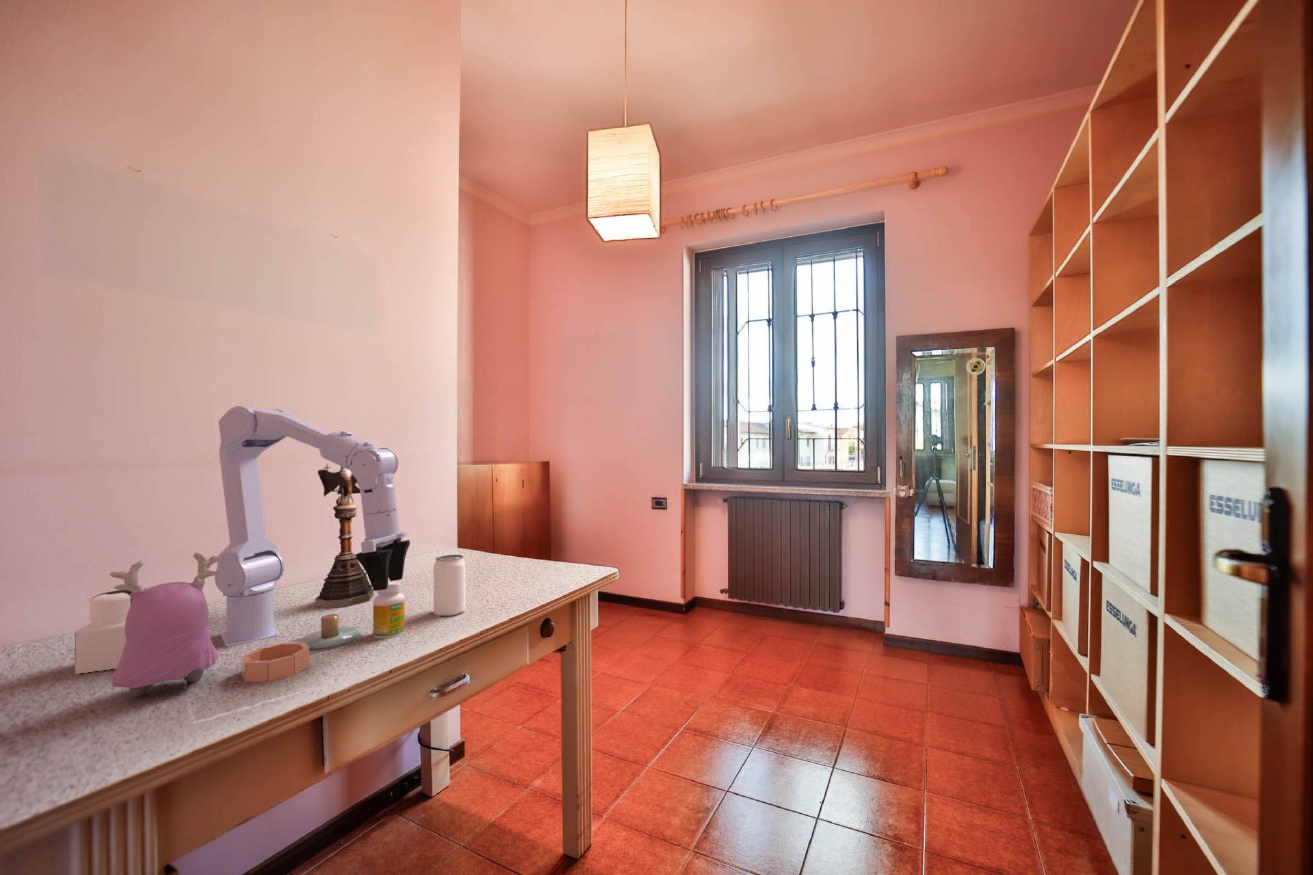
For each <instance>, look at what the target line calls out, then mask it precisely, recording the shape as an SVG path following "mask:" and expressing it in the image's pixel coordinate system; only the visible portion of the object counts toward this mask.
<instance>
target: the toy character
mask: <svg viewBox="0 0 1313 875" xmlns="http://www.w3.org/2000/svg"><path fill="white" fill-rule="evenodd" d="M192 557H193V558H194V559H195V560H196V562H197V575H195V577H194V579H193V581H192V582H191V583H190V582H186V581H172V582H163V583H160V584H157V585H153V586H150V587H148V588H146V587H145V588H144V587H142V585H141V584H140V583H139V578H138V574H139V571H140V569H141V568H142V567H143V565H144V561H143V560H141V559H140V560H138V561H137V562H135V563H133V564H132V565H131V566H130V569H129V570H128V571H127V572H126V571H124V570H123V571H121V570H120V571H112V572H110V573H109V576H110V577H111V578H115V579H121V580H123V581H124V584H117V585H114V586H113V588H114V589H115V590H117V591H118V590H129V591H131V592H132V593H131V594H130V595H131V599H132V603H131V606H130V608H129V611H128V613H127V617H126V622H125V637H126V642H125V645H124V648H123V652H122V656H121V660H120V662H119V664H118V666H117V669H115V672H114V674H113V676H112V680H111V683H112V685H111V687H114V688H129V691H130V693H131V694H132V696H134V697H138V698H139V697H141V696H142V695H144V694H145V693H146V692H147V691H148V690H149V689H150V688H152V686H154V684H158V683H163V682H168V681H176V680H181V679H183V680H185V681H187V682H188V683H196V682H197V683H198V682H199V681H201V680H202V677H203V674H204V672H205V670H207V669H210V668H211V667H212V666H214V665H215V664H216V661H217V659H219V657H220V654H219V652H218V650H217V649H216V648H215V646H214V644H213V642H212V638H211V635H210V632H209V631H210V630H209V628H208V622H209V608H208V606H209V605H208V603H207V600H206V597H205V593H204V591H203V589H204V586H205V583H206V581H205V579H207V578H209V577H213V576H214V577H215V575H217V574H219V573H220V571H216V570H210V567H212V565H213V564H215V563H218V562H217V561H218V560H219V559H220V558H219V557H218V555H212V556H210V557H209V558H208V559H207V558H206V557H204V555H203V554H202V553H200V552H194V554H193V555H192Z"/></svg>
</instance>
